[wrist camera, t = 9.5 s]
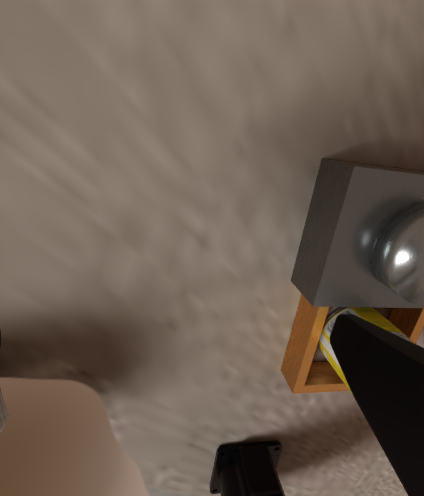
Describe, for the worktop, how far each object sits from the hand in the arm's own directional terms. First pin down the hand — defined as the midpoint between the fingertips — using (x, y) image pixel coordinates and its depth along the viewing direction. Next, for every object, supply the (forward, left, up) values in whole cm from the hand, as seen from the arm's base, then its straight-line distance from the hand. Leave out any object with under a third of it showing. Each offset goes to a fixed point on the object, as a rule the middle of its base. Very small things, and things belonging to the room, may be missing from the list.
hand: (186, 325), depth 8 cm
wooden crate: (-5, -16, -12) cm, 20 cm away
